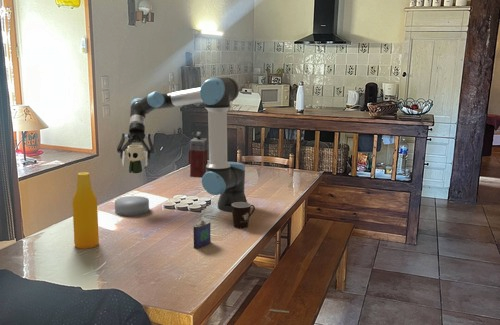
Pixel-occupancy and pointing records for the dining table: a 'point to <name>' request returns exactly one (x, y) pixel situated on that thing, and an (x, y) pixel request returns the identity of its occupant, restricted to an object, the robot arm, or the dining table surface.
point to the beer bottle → (85, 213)
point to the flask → (202, 234)
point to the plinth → (131, 206)
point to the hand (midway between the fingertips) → (134, 164)
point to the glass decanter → (198, 156)
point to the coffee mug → (241, 214)
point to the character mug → (135, 157)
